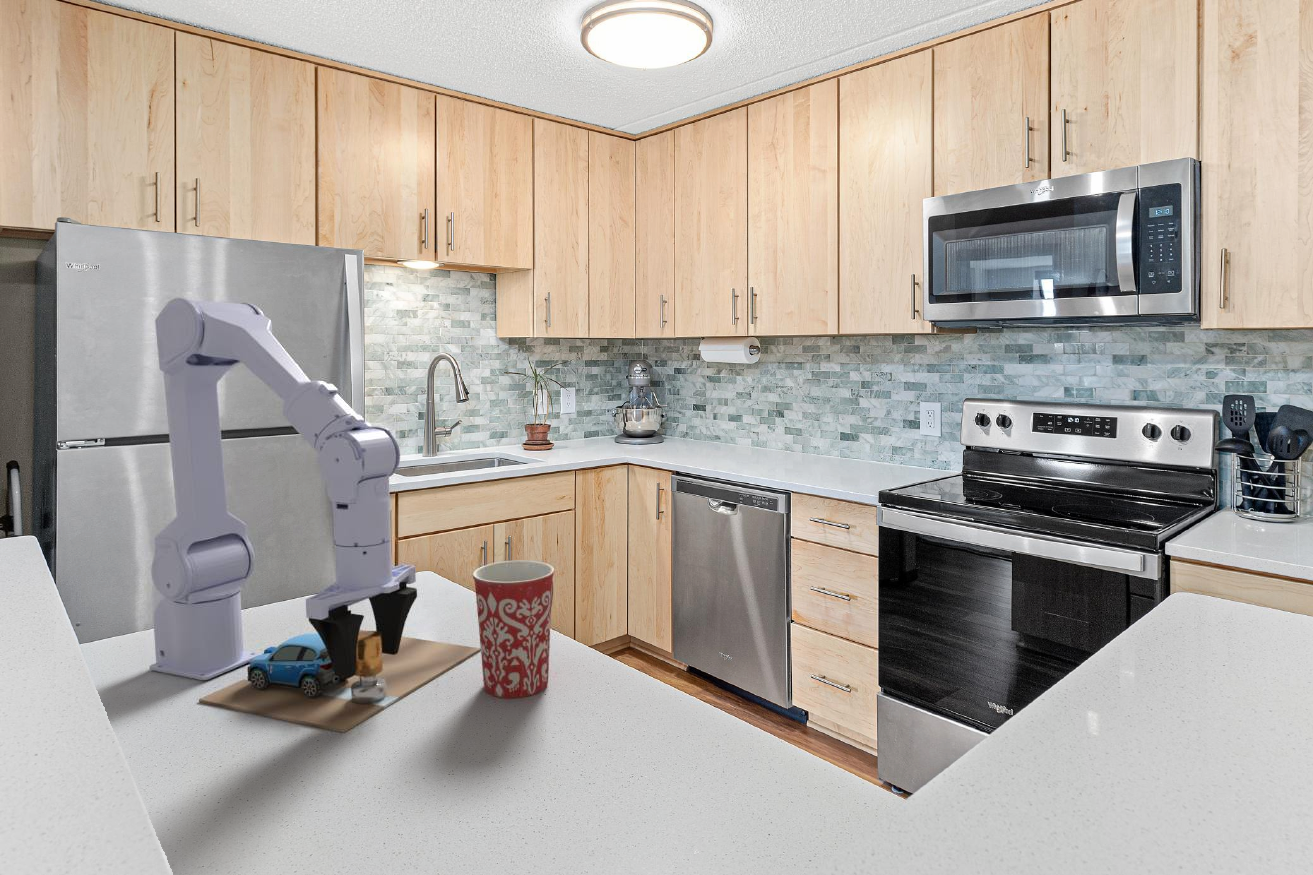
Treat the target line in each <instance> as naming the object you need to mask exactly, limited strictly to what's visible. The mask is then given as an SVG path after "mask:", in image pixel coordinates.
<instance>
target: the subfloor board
mask: <svg viewBox="0 0 1313 875" xmlns="http://www.w3.org/2000/svg"><path fill="white" fill-rule="evenodd" d="M364 631H365V630H362V629H360V630H359V632H364ZM480 652H481V647H474V646H473V647H472V646H468V645H460V644H453V643H448V642H441V641H433V640H428V639H421V638H416V637H415V638H414V637H409V636H404V635H402V637H401V642H400V646H399V650H398V653H397V654H395V655H391V654H385V653H382V662H383V670H382V672H380V673H378V674H377V678H381V679H384V680H385V681H386V693H387V696H386V698H385V699H384V700H382V701H380V702H377V703H374V704H368V705H359V704H355V703H353V702H352V698H351V685H352V684H353V683H355V682H357V681H359V680H360V676H356V675H355V676H353V677H351V678H349V679H347V680H345V681H337V682H332V683H331V684H329V685H327V686H325V687H324V689H323V693H322V694H321V695H319V696H318V697H316V698H309V697H307V696H305V694H304V692H302V687H301V688H292V687H286V686H279V685H273V684H271V685H270V686H269V687H268V688H266V689H264V690H258V689H256V688H255V687H254V686H253V684H252V683H251V681H248V679H247V677H246V678H243V679H242V680H239V681H237V682H234V683H233V684H231V685H228V686H225V687H223V688H221V689H219V690H216V691H214V692H211V693H210V694H207V695H205V696H203V697H200V698H199V699H198V702H199V703H203V704H208V705H211V706H216V707H221V708H227V709H232V710H235V711H240V712H245V713H250V714H254V715H258V716H259V715H260V716H262V717H263V716H264V717H267V718H268V717H269V718H273V719H277V720H283V721H287V722H293V723H297V724H299V725H300V724H301V725H305V726H310V727H314V728H319V729H324V730H329V731H333V732H339V733H343V734H344V733H346V732H348V731H350V730H351V729H353V728H354V727H356V726H358V725H361V723H363V722H364V721H366V720H368V719H370V718H371V717H373V716H374V715H376V714H378V713H379V712H382V711H383V710H385V709H386V708H388V707H390V706H391V705H393V704H394V703H396V702H398V701H399V700H401V699H403V698H405V697H406V696H407V695H409V694H411V693H413V692H414V691H416V690H418V689H419V688H421V687H422V686H425V685H426V684H427V683H430V682H431V681H433V680H435V679H436V678H438V677H440V676H441V675H443V674H445V673H446V672H448V671H450V670H451V669H453V668H454V667H456V666H458V665H459V664H461V663H462V662H465V661H466V660H468V659H469V658H471V657H472V656H474V655H476V654H478V653H480ZM314 690H315V689H314Z"/></svg>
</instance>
